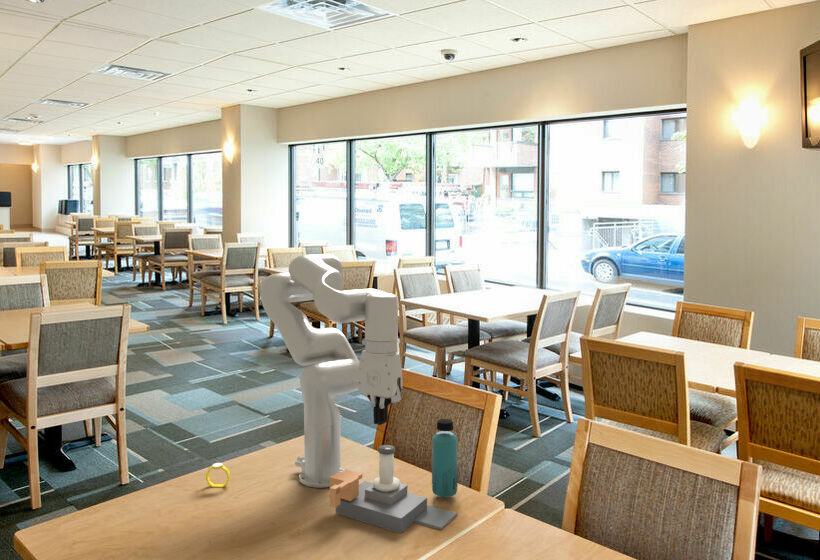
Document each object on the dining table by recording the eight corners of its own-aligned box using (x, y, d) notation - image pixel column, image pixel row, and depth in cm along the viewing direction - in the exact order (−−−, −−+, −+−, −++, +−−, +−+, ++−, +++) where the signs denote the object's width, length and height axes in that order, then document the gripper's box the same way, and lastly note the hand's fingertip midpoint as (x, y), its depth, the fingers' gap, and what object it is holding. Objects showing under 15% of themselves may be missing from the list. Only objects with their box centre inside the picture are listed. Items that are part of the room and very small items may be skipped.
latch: (315, 504, 147) (315, 483, 147) (343, 486, 157) (343, 466, 156) (336, 510, 144) (336, 489, 144) (363, 492, 154) (364, 472, 153)
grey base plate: (336, 513, 151) (336, 491, 151) (364, 494, 161) (364, 473, 161) (400, 533, 142) (401, 509, 142) (426, 511, 152) (427, 489, 152)
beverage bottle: (455, 504, 156) (457, 425, 154) (429, 501, 158) (430, 423, 155) (459, 493, 163) (460, 417, 160) (433, 490, 164) (434, 415, 162)
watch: (205, 489, 164) (203, 467, 163) (209, 485, 167) (207, 463, 166) (228, 488, 164) (226, 466, 163) (232, 483, 167) (229, 461, 166)
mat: (410, 521, 148) (410, 518, 148) (427, 507, 155) (427, 505, 155) (441, 530, 144) (441, 527, 144) (456, 515, 151) (456, 513, 151)
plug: (367, 497, 152) (367, 449, 151) (382, 487, 157) (382, 441, 156) (390, 503, 149) (390, 455, 147) (404, 493, 154) (404, 446, 153)
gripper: (345, 345, 148) (345, 421, 151) (398, 353, 140) (397, 434, 143) (365, 339, 155) (364, 412, 157) (417, 347, 147) (415, 424, 149)
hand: (380, 422), depth 150 cm, fingers closed
